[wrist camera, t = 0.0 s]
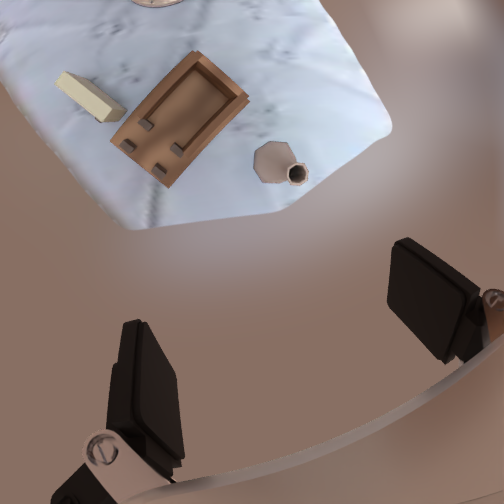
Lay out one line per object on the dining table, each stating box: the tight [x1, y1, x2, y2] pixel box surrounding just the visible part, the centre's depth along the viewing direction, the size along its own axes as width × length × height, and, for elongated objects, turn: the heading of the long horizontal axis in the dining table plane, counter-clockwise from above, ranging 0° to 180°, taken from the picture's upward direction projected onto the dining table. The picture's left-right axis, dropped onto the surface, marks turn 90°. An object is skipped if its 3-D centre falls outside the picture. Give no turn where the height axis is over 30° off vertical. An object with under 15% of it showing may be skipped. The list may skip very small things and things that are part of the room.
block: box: [54, 71, 127, 123], centre depth 30 cm, size 9×3×10 cm, turn 45°
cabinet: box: [110, 50, 250, 188], centre depth 35 cm, size 12×18×8 cm, turn 135°
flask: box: [254, 141, 309, 186], centre depth 41 cm, size 7×7×10 cm
